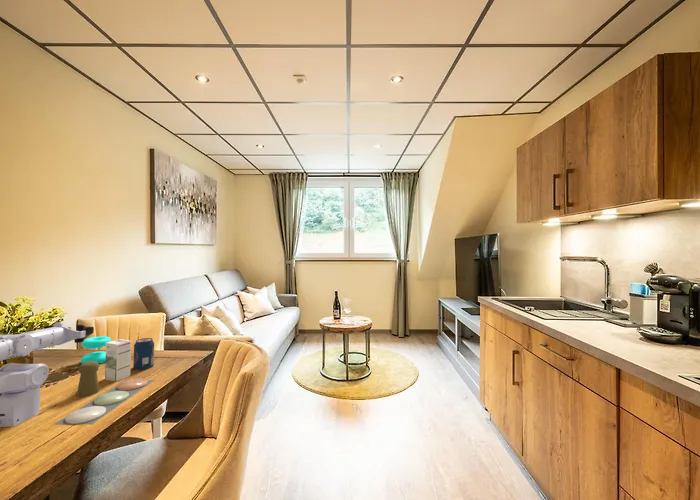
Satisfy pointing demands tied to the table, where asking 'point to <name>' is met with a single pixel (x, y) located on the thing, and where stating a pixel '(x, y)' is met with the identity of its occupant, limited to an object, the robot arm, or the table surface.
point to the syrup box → (117, 359)
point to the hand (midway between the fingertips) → (81, 330)
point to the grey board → (108, 407)
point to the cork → (88, 379)
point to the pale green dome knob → (111, 398)
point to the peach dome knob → (131, 384)
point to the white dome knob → (85, 414)
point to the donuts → (92, 344)
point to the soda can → (143, 354)
